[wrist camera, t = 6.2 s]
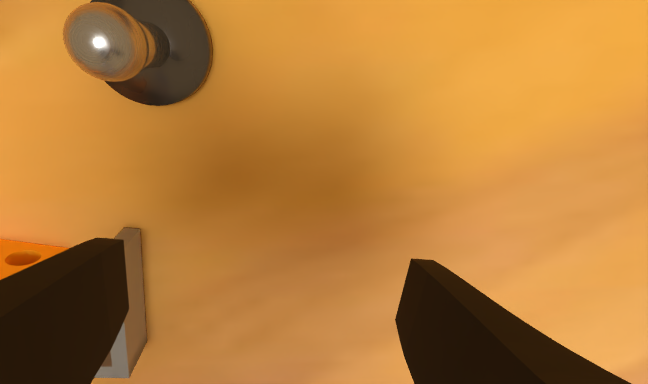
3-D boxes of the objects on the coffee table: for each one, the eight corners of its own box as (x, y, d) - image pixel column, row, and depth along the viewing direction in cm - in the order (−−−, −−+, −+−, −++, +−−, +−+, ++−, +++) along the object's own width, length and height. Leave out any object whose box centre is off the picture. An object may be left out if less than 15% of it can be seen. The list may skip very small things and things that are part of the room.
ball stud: (211, 109, 17) (178, 134, 12) (99, 96, 16) (12, 116, 11) (213, -9, 15) (175, -40, 10) (87, -30, 14) (-23, -74, 9)
